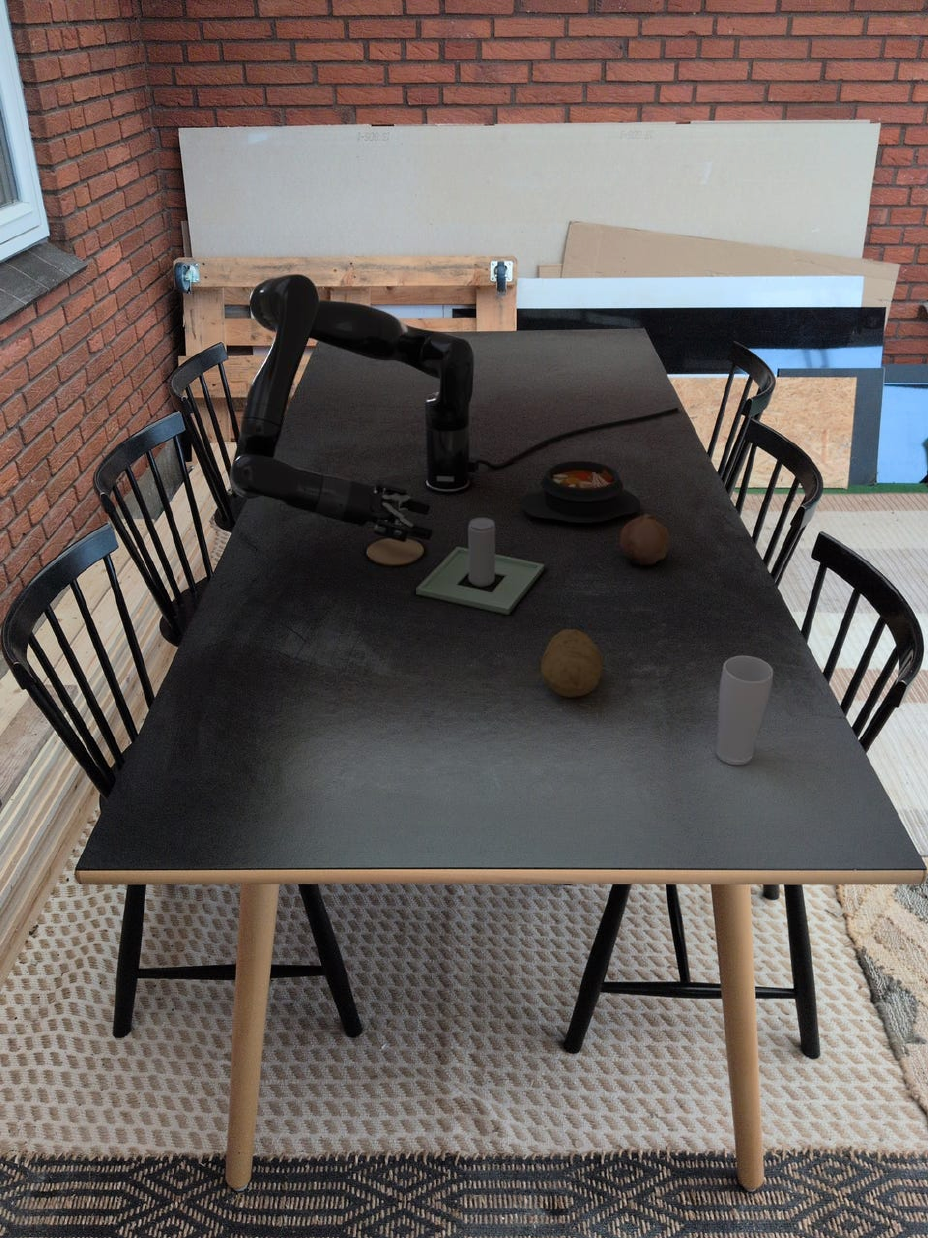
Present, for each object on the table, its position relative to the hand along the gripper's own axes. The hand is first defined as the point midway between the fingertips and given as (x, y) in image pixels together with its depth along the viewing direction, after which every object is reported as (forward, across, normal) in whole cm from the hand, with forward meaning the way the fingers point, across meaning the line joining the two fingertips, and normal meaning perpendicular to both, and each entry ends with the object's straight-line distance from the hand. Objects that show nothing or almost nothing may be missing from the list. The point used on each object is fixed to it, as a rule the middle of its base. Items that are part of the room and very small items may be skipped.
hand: (430, 521), depth 187 cm
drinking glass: (+40, -57, -8) cm, 70 cm away
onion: (+42, +1, -2) cm, 42 cm away
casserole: (+35, +24, +3) cm, 43 cm away
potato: (+21, -38, +1) cm, 44 cm away
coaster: (-2, +9, +14) cm, 17 cm away
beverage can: (+12, -4, +8) cm, 15 cm away
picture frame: (+12, -4, +7) cm, 15 cm away
